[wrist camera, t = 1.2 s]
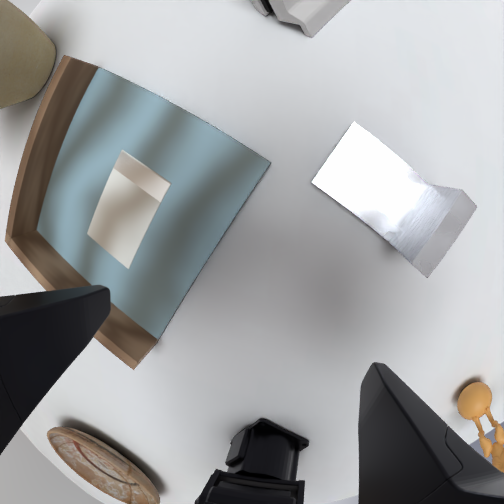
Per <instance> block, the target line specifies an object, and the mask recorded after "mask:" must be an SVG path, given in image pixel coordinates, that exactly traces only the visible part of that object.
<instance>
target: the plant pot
mask: <svg viewBox="0 0 504 504" xmlns="http://www.w3.org/2000/svg"><path fill="white" fill-rule="evenodd" d="M55 56H56V49H55V45H54V44H53V42H52V41H51V40H50V39H49V38H48V36H47V35H46V34H45V33H44V32H43V31H42V30H41V29H40V28H39V27H38V26H37V25H36V24H35V23H34V22H33V21H32V20H31V19H30V18H29V17H28V16H27V15H26V14H25V13H23V12H22V11H21V10H20V9H19V8H17V7H16V6H15V5H13V4H12V3H11V2H9V1H8V0H0V109H1V108H4V107H7V106H10V105H13V104H16V103H19V102H22V101H25V100H27V99H30V98H32V97H34V96H35V95H36V94H37V93H38V92H39V91H40V90H41V89H42V87H43V86H44V85H45V83H46V81H47V80H48V78H49V76H50V73H51V71H52V68H53V65H54V62H55Z"/></svg>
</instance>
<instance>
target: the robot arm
mask: <svg viewBox="0 0 504 504" xmlns="http://www.w3.org/2000/svg"><path fill="white" fill-rule="evenodd" d="M110 311H111V295H110V289H109V288H108V287H105V286H103V285H91V286H84V287H76V288H68V289H60V290H52V291H44V292H36V293H28V294H20V295H16V296H15V295H11V296H2V297H0V455H1V453H2V452H3V450H4V449H5V447H6V446H7V445H8V443H9V442H10V441H11V439H12V438H13V437H14V435H15V434H16V432H17V431H18V430H19V428H20V427H21V426H22V424H23V423H24V422H25V420H26V419H27V418H28V416H29V415H30V414H31V412H32V411H33V410H34V409H35V407H36V406H37V405H38V404H39V402H40V401H41V400H42V399H43V397H44V396H45V395H46V394H47V392H48V391H49V390H50V389H51V387H52V386H53V385H54V384H55V383H56V381H57V380H58V379H59V378H60V376H61V375H62V374H63V373H64V372H65V371H66V369H67V368H68V367H69V366H70V365H71V363H72V362H73V361H74V360H75V359H76V358H77V356H78V355H79V354H80V353H81V352H82V351H83V350H84V348H85V347H86V346H87V345H88V344H89V342H90V341H91V340H92V338H93V337H94V335H95V334H96V332H97V331H98V330H99V328H100V327H101V325H102V324H103V323H104V321H105V320H106V318H107V317H108V316H109V314H110ZM358 436H359V504H504V473H503V472H501V471H500V470H498V469H497V468H496V467H495V466H493V465H492V464H491V463H490V462H488V461H487V460H486V459H485V458H484V457H482V456H481V455H480V454H479V453H478V452H476V451H475V450H474V449H473V448H472V447H471V446H469V445H468V444H467V443H466V442H465V441H464V440H463V439H462V438H461V437H460V436H458V435H457V434H456V433H455V432H454V431H453V430H452V429H451V428H450V427H449V426H448V427H447V424H446V423H445V422H444V421H443V420H442V419H441V418H440V417H439V416H438V415H437V414H436V413H435V412H434V411H433V410H432V409H431V408H430V407H429V406H428V405H427V404H426V403H425V402H424V401H423V400H422V399H421V398H420V397H419V396H418V395H417V394H416V393H414V392H413V391H412V390H411V389H410V388H409V387H408V386H407V385H406V384H405V383H404V382H403V381H402V380H401V379H400V378H399V377H398V376H397V375H396V374H395V373H394V372H393V371H392V370H391V369H390V368H389V367H388V366H387V365H385V364H383V363H377V362H374V363H372V365H371V366H370V368H369V370H368V372H367V374H366V375H365V377H364V379H363V381H362V384H361V391H360V408H359V423H358ZM230 444H231V447H230V450H229V453H228V456H227V459H226V462H225V463H226V465H227V466H229V468H228V471H227V472H224V471H221V470H218V469H216V470H215V472H214V473H213V475H211V477H210V479H209V480H208V482H207V484H206V486H205V487H204V489H203V491H202V493H201V494H200V496H199V497H198V498H197V499H196V500H195V504H303V502H304V487H305V480H299V481H296V474H297V466H298V458H299V451H301V450H303V449H304V448H306V447H308V446H309V441H308V440H306V439H304V438H302V437H299V436H297V435H295V434H293V433H291V432H289V431H287V430H285V429H283V428H281V427H279V426H277V425H275V424H273V423H271V422H269V421H267V420H265V419H260V420H258V421H257V422H256V423H254V424H253V425H252V426H250V427H249V428H245V429H244V430H243V431H241V432H240V433H239V434H237V435H236V436H235V437H234V439H233V440H231V443H230Z"/></svg>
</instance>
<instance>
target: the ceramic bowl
mask: <svg viewBox="0 0 504 504" xmlns="http://www.w3.org/2000/svg"><path fill="white" fill-rule="evenodd" d="M47 437H48V440H49V442H50V444H51V446H52V447H53V449H54V450H55V451H56V453H57V454H58V455H59V456H60V458H61V459H62V460H63V461H64V462H65V463H66V464H67V465H68V466H69V467H70V468H71V469H73V470H74V471H75V472H76V473H77V474H78V475H80V476H81V477H82V478H83V479H85V480H86V481H87V482H89V483H90V484H92V485H93V486H94V487H96V488H98V489H99V490H101V491H102V492H104V493H106V494H108V495H110V496H112V497H113V498H116V499H118V500H120V501H122V502H125V503H127V504H160V497H159V493H158V491H157V489H156V488H155V486H154V485H153V483H152V482H151V481H150V480H149V478H148V477H147V476H146V475H145V474H144V473H143V472H142V471H141V470H140V469H139V468H138V467H136V466H135V465H134V464H133V463H132V462H131V461H129V460H128V459H127V458H125V457H124V456H122V455H121V454H120V453H119V452H117V451H116V450H114V449H113V448H111V447H110V446H108V445H107V444H105V443H103V442H102V441H100V440H98V439H97V438H95V437H93V436H91V435H89V434H87V433H84V432H82V431H79V430H76V429H73V428H69V427H54V428H52V429H50V430H49V431H48V432H47Z"/></svg>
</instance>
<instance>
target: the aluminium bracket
mask: <svg viewBox="0 0 504 504" xmlns="http://www.w3.org/2000/svg"><path fill="white" fill-rule="evenodd" d="M312 183H313V184H315V185H316V186H317V187H319V188H320V189H322V190H323V191H324V192H326V193H327V194H328V195H330V196H331V197H332V198H334V199H335V200H337V201H338V202H339V203H340V204H342V205H343V206H344V207H346V208H347V209H348V210H350V211H351V212H352V213H354V214H355V215H356V216H357V217H359V218H360V219H361V220H362V221H364V222H365V223H366V224H367V225H369V226H370V227H371V228H372V229H374V230H375V231H376V232H377V233H379V234H380V235H381V236H382V237H383V238H385V239H386V240H387V241H388V242H389V243H390V244H391V245H392V246H394V247H395V248H396V249H397V250H398V251H399V252H400V253H401V254H402V255H403V256H404V257H405V258H406V259H407V260H408V261H409V262H410V263H411V264H412V265H413V266H414V267H415V268H416V269H418V270H419V271H420V272H421V273H422V274H423V275H424V276H425V277H426V278H428V277H429V275H430V274H431V273H432V271H433V270H434V269H435V268H436V266H437V265H438V264H439V262H440V261H441V260H442V258H443V257H444V256H445V254H446V253H447V251H448V250H449V249H450V247H451V246H452V244H453V243H454V242H455V240H456V239H457V237H458V236H459V234H460V233H461V231H462V230H463V228H464V227H465V225H466V224H467V222H468V221H469V219H470V218H471V216H472V214H473V213H474V211H475V210H476V208H477V206H476V205H475V203H474V202H473V201H472V200H471V199H470V198H469V197H468V195H467V194H466V193H465V192H464V191H463V190H460V189H455V188H449V187H443V186H436V185H430V184H428V183H427V182H426V181H425V180H424V179H423V178H422V177H421V176H420V175H419V174H418V173H417V172H416V171H414V170H413V169H412V168H411V167H410V166H409V165H408V164H406V163H405V162H404V161H403V160H402V159H401V158H399V157H398V156H397V155H396V154H395V153H394V152H392V151H391V150H390V149H389V148H387V147H386V146H385V145H384V144H382V143H381V142H380V141H379V140H377V139H376V138H375V137H374V136H372V135H371V134H370V133H368V132H367V131H366V130H364V129H363V128H362V127H360V126H359V125H358V124H356V123H355V122H354V123H353V124H352V125H351V126H350V128H349V129H348V131H347V132H346V133H345V135H344V136H343V138H342V139H341V141H340V142H339V143H338V145H337V146H336V148H335V149H334V150H333V152H332V153H331V155H330V156H329V158H328V159H327V160H326V162H325V163H324V165H323V166H322V168H321V169H320V170H319V172H318V173H317V175H316V176H315V177H314V179H313V180H312Z"/></svg>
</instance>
